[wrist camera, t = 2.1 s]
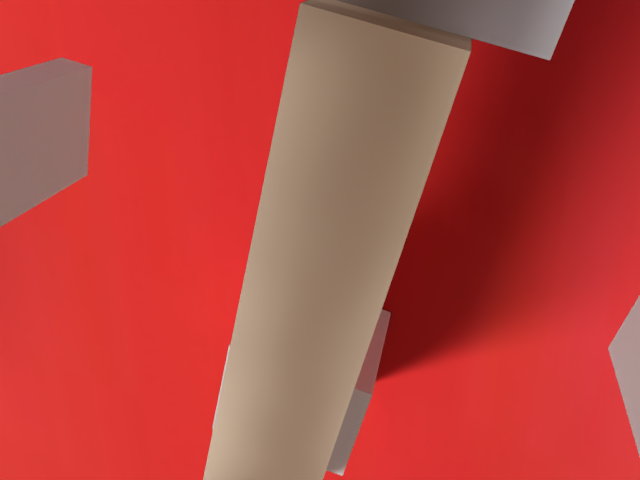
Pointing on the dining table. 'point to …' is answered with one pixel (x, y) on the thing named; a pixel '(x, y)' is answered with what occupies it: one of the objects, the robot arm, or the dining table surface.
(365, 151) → the beige tapered bar
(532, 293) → the dining table surface
